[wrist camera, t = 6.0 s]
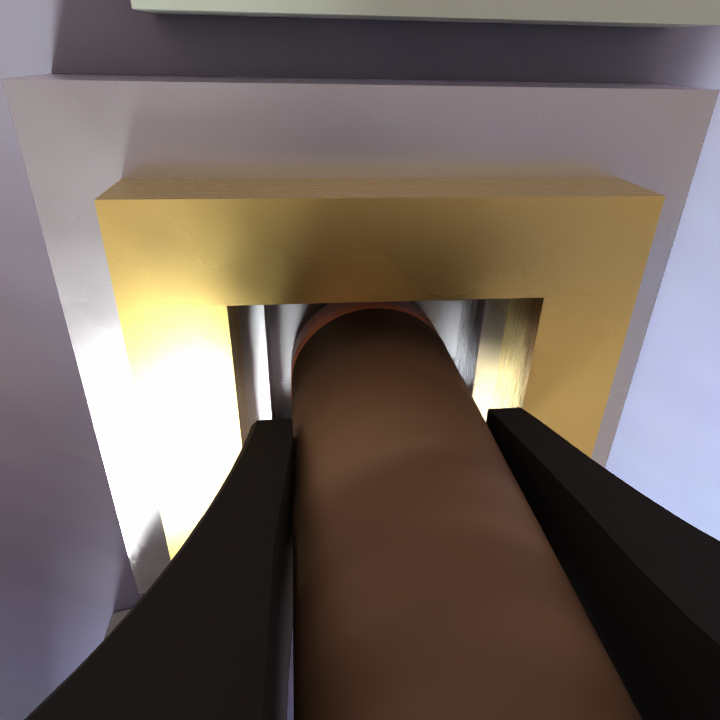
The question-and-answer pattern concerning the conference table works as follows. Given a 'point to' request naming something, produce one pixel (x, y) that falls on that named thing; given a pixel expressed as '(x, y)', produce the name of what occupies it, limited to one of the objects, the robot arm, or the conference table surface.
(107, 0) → the conference table surface
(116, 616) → the geiger counter
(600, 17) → the tray
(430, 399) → the dowel
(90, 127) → the panel
